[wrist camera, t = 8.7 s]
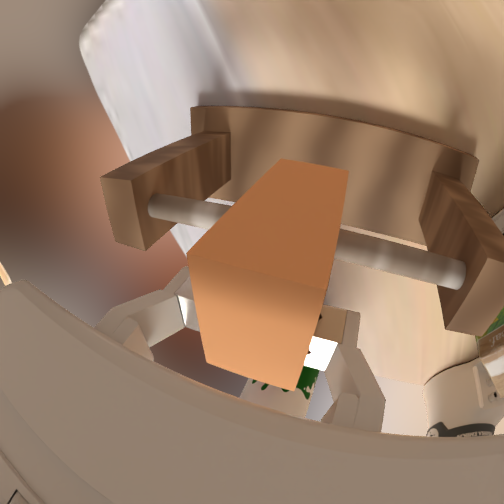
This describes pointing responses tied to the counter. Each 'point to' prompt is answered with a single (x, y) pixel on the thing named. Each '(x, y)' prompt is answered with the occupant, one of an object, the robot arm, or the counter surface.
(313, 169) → the tall peach brick
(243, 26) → the counter surface
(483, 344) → the tea box
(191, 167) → the hanger stand
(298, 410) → the milk carton
